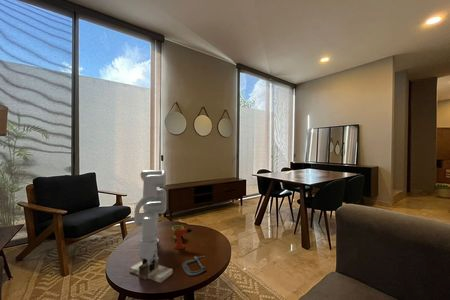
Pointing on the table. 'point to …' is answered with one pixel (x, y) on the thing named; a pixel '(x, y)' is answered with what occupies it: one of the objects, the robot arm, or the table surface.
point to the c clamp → (193, 262)
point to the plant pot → (176, 228)
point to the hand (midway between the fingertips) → (148, 268)
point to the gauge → (146, 269)
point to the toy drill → (181, 237)
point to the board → (154, 272)
